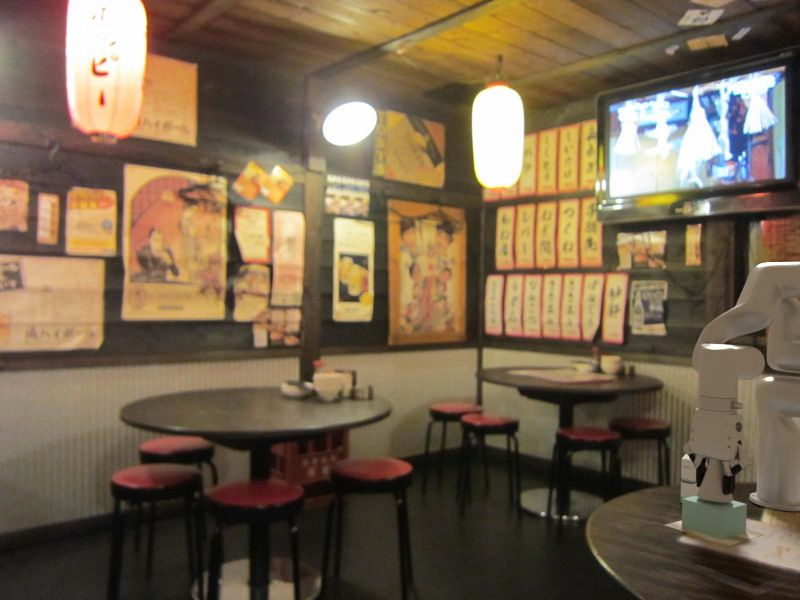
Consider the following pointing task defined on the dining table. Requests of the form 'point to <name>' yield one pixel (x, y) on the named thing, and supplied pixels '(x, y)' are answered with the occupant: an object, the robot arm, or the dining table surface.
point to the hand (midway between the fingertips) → (714, 489)
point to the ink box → (688, 478)
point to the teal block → (714, 517)
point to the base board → (725, 542)
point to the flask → (714, 483)
